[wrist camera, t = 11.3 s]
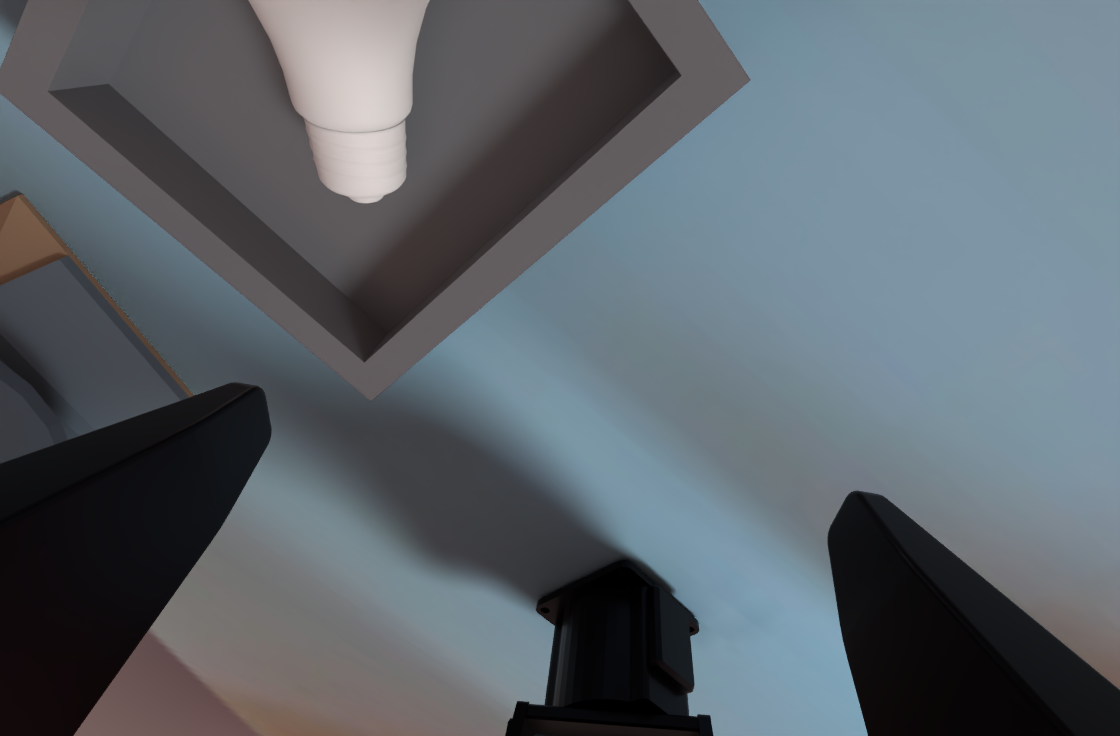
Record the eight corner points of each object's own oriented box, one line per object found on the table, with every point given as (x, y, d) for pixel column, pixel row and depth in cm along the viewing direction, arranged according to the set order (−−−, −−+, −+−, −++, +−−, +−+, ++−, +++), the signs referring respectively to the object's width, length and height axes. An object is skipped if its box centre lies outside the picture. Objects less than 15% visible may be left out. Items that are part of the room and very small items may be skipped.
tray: (399, 359, 23) (370, 401, 21) (80, 78, 19) (-8, 87, 16) (732, 70, 16) (750, 80, 14) (356, -490, 12) (280, -631, 9)
